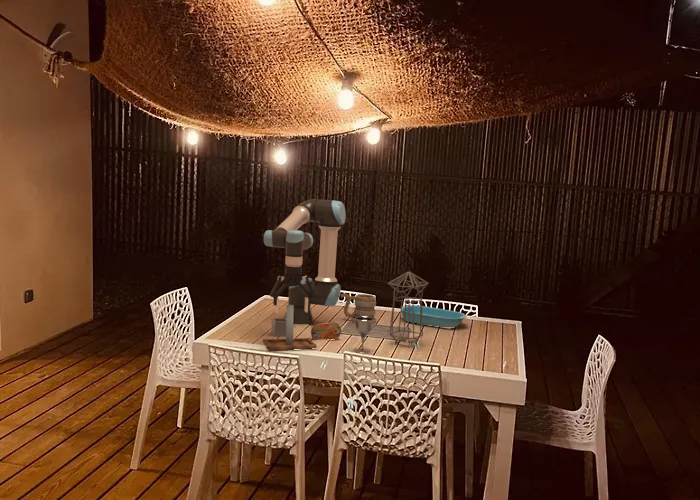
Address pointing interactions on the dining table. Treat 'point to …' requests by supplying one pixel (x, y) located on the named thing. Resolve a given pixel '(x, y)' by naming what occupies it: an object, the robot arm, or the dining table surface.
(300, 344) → the tray
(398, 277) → the geometric lantern
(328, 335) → the tin
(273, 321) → the cup
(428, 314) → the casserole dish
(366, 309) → the tankard
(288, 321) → the dowel
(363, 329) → the wine glass
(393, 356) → the dining table surface
